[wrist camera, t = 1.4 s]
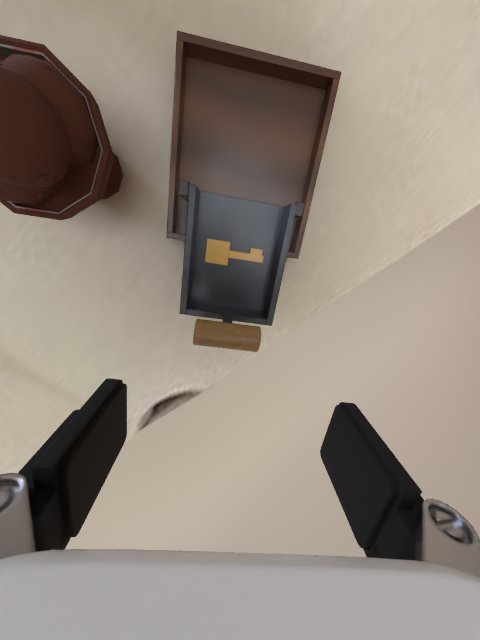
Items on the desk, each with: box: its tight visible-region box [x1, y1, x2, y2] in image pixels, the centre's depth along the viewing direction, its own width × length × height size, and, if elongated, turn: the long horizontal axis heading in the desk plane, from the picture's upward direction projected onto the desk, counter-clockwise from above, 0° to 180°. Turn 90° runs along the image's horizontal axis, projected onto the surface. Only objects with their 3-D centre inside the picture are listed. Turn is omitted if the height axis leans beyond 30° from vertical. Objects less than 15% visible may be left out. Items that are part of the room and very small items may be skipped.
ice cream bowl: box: [0, 35, 123, 220], centre depth 19 cm, size 11×11×15 cm
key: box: [205, 239, 264, 265], centre depth 23 cm, size 6×2×1 cm, turn 81°
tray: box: [167, 31, 341, 259], centre depth 23 cm, size 17×15×7 cm
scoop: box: [180, 184, 298, 352], centre depth 20 cm, size 12×9×8 cm
